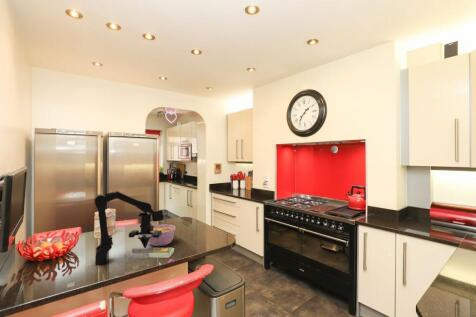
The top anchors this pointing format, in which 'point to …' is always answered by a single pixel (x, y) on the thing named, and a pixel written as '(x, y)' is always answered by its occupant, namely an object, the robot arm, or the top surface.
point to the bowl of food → (163, 235)
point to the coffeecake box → (110, 223)
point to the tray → (162, 255)
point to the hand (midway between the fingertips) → (145, 247)
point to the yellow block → (164, 250)
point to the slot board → (139, 253)
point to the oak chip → (157, 250)
